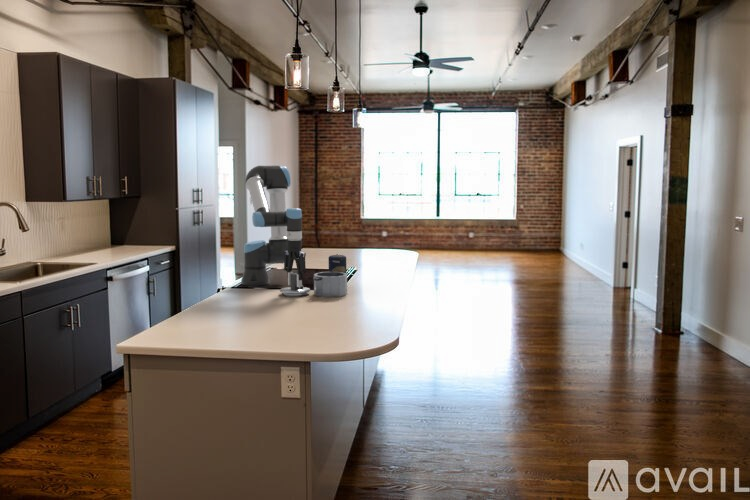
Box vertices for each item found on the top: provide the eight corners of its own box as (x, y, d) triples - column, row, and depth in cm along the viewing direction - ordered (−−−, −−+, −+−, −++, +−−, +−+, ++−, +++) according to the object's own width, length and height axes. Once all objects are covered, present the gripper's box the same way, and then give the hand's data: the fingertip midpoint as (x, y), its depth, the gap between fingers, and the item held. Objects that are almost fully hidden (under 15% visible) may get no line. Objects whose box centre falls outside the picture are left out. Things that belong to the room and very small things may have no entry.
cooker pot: (303, 295, 299) (303, 275, 298) (333, 289, 316) (333, 270, 315) (326, 299, 289) (326, 278, 288) (357, 292, 306) (357, 273, 305)
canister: (347, 285, 326) (347, 252, 323) (345, 289, 316) (345, 255, 314) (330, 285, 327) (330, 252, 324) (327, 288, 317) (326, 254, 315)
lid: (273, 295, 301) (273, 274, 299) (295, 290, 312) (295, 270, 311) (294, 298, 291) (294, 277, 290) (316, 294, 303) (316, 273, 302)
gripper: (275, 238, 301) (276, 284, 304) (302, 241, 290) (302, 289, 292) (287, 237, 307) (287, 282, 310) (313, 240, 295) (313, 286, 298)
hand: (295, 285), depth 301 cm, fingers open, 6 cm apart
